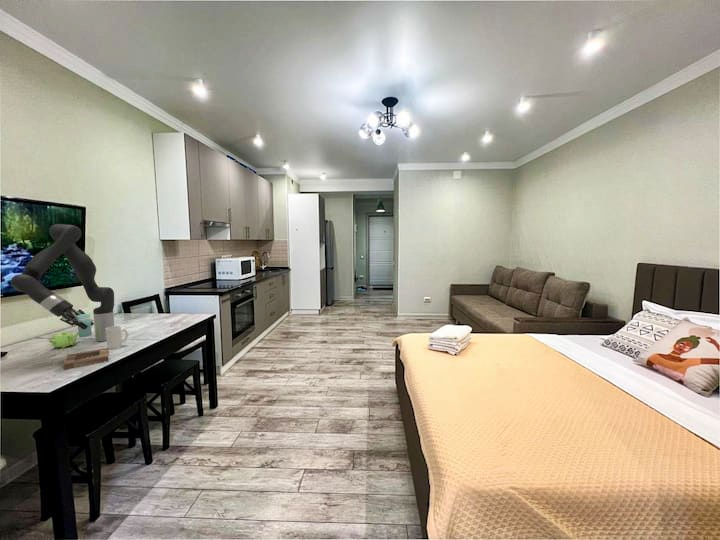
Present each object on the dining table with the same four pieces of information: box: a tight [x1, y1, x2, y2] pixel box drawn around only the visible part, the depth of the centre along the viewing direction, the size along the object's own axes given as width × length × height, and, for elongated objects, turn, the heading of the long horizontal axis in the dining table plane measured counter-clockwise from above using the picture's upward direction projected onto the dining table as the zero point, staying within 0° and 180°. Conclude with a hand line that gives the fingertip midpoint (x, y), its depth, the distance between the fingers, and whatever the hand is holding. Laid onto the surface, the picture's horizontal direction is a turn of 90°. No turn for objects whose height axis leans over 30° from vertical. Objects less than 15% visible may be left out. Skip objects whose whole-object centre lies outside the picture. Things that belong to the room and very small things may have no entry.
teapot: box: [47, 331, 79, 349], centre depth 164 cm, size 11×12×8 cm
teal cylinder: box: [77, 313, 93, 338], centre depth 144 cm, size 5×5×11 cm
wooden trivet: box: [62, 347, 110, 371], centre depth 146 cm, size 16×16×2 cm
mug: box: [106, 325, 129, 350], centre depth 164 cm, size 10×7×12 cm, turn 114°
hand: (89, 326), depth 145 cm, fingers closed on teal cylinder, 4 cm apart
